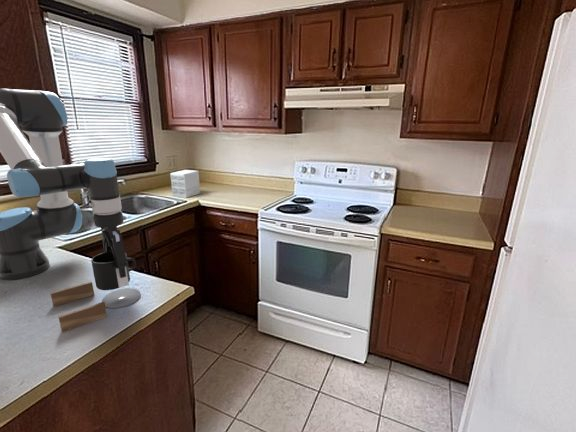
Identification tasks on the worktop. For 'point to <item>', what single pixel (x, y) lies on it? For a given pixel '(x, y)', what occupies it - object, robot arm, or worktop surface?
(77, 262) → the worktop surface
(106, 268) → the mug
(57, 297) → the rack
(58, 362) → the worktop surface
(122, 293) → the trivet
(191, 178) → the supplement box
